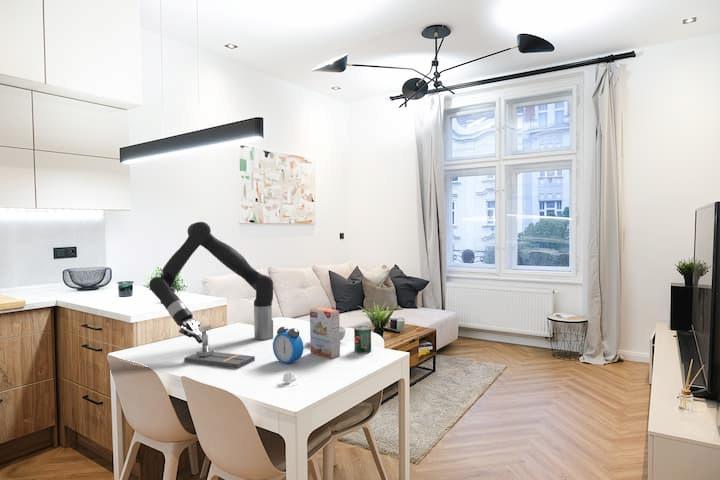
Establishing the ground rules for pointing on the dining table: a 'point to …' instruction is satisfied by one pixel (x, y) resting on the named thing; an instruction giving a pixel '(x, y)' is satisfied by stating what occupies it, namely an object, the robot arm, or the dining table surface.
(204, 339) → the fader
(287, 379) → the teacup and saucer
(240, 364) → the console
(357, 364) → the dining table surface
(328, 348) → the cracker box
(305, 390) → the dining table surface
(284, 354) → the alarm clock
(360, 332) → the canned tomato
